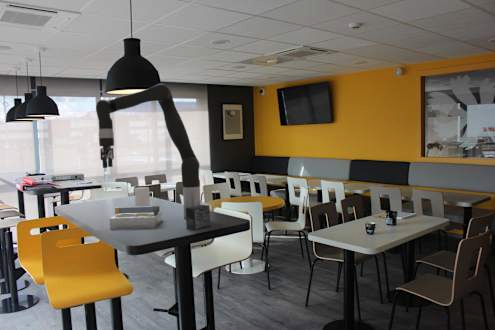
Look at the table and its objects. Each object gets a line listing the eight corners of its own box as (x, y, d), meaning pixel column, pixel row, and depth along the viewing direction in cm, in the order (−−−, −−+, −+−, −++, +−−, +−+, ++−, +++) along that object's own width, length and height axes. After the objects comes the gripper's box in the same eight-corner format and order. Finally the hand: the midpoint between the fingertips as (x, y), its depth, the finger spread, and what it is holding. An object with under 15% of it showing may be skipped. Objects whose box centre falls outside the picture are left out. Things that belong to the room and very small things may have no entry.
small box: (201, 225, 198) (201, 204, 198) (211, 226, 194) (210, 205, 194) (185, 229, 190) (185, 207, 190) (195, 230, 186) (194, 208, 186)
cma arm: (160, 211, 206) (160, 205, 206) (158, 212, 203) (158, 206, 203) (117, 212, 206) (116, 206, 206) (115, 214, 202) (114, 207, 202)
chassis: (162, 220, 214) (161, 209, 214) (155, 227, 196) (154, 216, 196) (120, 221, 213) (120, 211, 213) (110, 228, 195) (109, 217, 195)
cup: (146, 216, 225) (145, 188, 224) (133, 216, 226) (131, 188, 225) (152, 214, 233) (151, 187, 232) (139, 214, 234) (138, 187, 233)
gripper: (109, 137, 207) (110, 168, 208) (117, 137, 222) (118, 166, 223) (94, 137, 207) (96, 168, 208) (103, 137, 221) (105, 166, 222)
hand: (107, 167), depth 215 cm, fingers open, 8 cm apart
